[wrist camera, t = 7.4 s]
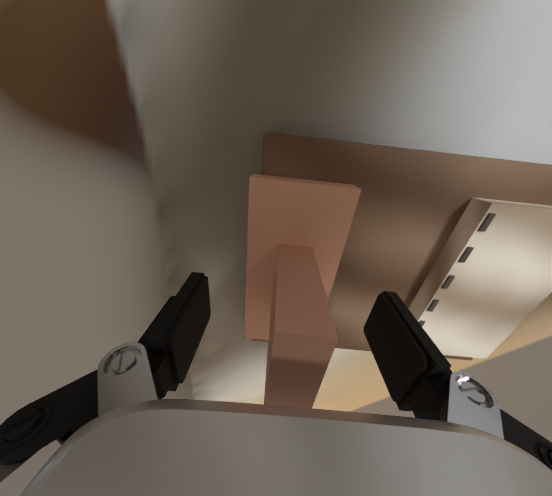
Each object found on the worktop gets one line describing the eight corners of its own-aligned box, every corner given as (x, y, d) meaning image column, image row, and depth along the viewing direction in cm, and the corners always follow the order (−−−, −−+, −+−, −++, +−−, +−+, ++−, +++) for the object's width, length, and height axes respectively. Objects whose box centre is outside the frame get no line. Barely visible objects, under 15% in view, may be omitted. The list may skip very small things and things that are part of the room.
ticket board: (266, 133, 11) (261, 131, 9) (603, 171, 12) (690, 180, 9) (253, 326, 19) (249, 354, 16) (458, 345, 19) (483, 375, 17)
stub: (252, 173, 11) (209, 219, 4) (353, 184, 11) (453, 244, 5) (246, 325, 16) (224, 439, 10) (313, 331, 17) (331, 448, 10)
